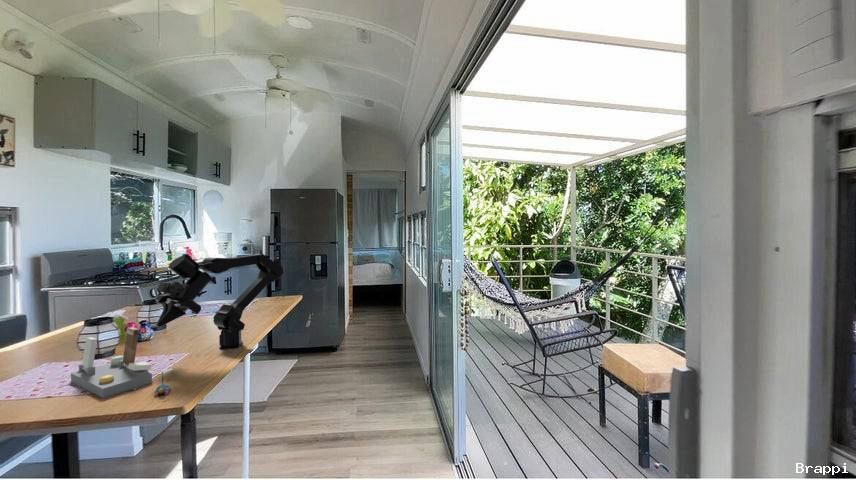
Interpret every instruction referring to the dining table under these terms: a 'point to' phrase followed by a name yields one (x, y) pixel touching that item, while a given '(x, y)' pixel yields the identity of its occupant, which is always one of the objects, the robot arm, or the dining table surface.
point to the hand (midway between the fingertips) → (157, 326)
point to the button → (116, 360)
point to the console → (110, 378)
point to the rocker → (139, 366)
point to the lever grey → (89, 352)
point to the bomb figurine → (162, 389)
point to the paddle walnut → (130, 345)
